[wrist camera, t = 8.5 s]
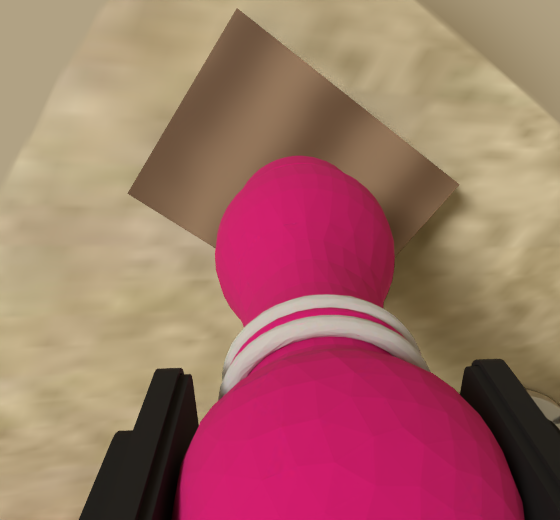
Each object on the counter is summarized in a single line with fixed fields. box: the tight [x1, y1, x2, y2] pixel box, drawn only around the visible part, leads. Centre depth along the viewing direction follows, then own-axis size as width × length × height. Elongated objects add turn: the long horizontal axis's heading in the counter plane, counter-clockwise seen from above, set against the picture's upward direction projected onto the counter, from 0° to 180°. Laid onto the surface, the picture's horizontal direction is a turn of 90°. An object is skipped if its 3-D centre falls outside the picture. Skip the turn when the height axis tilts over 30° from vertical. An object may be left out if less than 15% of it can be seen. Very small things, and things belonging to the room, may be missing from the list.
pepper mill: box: [172, 156, 525, 520], centre depth 13 cm, size 7×7×20 cm
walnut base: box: [128, 9, 459, 256], centre depth 28 cm, size 16×12×3 cm
